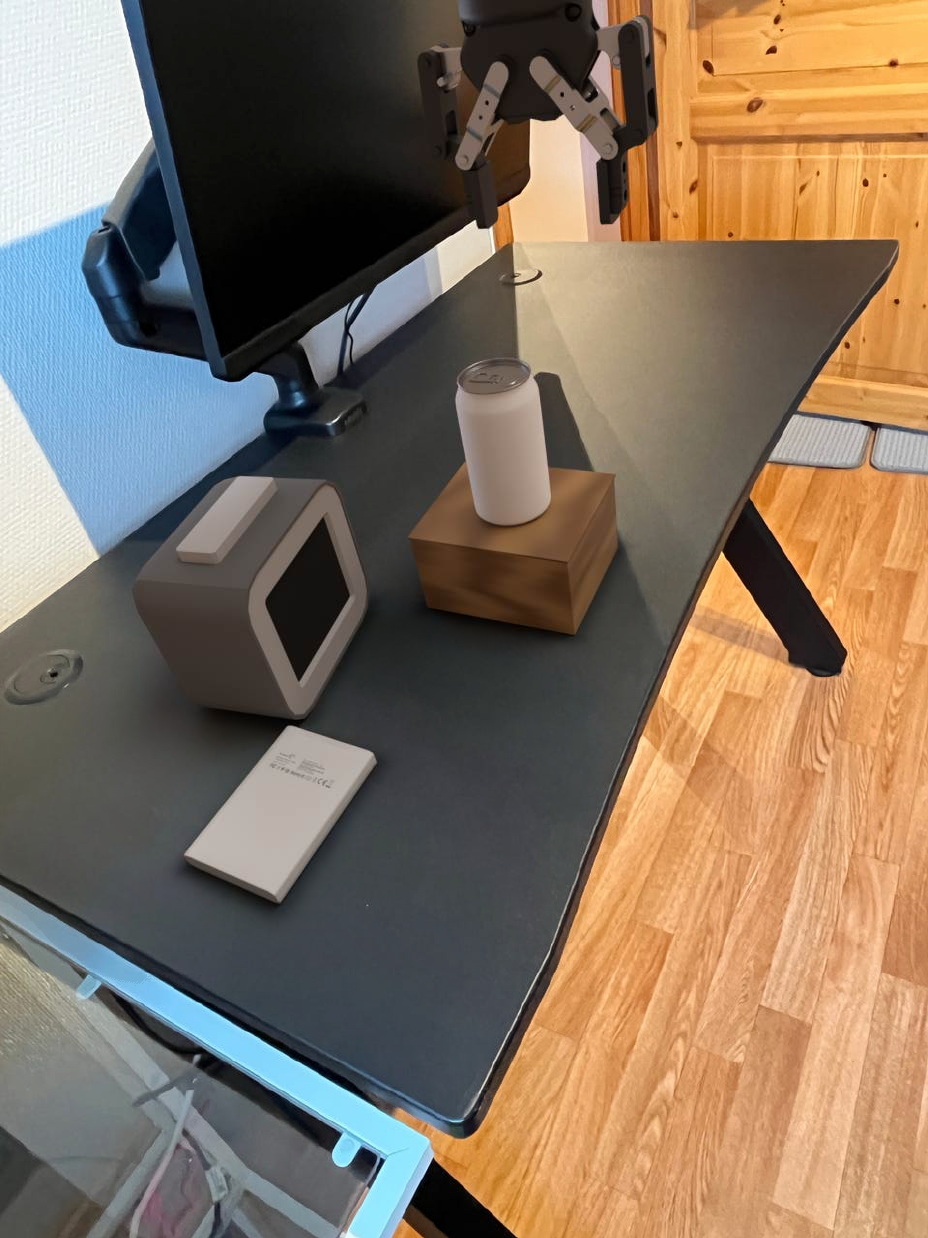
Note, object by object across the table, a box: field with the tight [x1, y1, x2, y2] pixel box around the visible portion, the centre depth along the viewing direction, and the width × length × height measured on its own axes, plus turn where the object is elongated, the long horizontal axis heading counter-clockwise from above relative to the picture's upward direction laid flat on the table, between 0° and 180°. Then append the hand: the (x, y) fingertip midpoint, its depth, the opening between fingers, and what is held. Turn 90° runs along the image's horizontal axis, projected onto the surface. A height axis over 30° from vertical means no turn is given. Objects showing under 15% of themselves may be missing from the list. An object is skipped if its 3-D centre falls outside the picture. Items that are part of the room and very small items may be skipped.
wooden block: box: [406, 460, 619, 636], centre depth 74 cm, size 14×12×8 cm
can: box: [455, 357, 551, 526], centre depth 67 cm, size 6×6×12 cm
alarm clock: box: [131, 475, 371, 721], centre depth 69 cm, size 16×11×16 cm
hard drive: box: [183, 725, 378, 905], centre depth 61 cm, size 2×8×12 cm
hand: (548, 222), depth 55 cm, fingers open, 8 cm apart
